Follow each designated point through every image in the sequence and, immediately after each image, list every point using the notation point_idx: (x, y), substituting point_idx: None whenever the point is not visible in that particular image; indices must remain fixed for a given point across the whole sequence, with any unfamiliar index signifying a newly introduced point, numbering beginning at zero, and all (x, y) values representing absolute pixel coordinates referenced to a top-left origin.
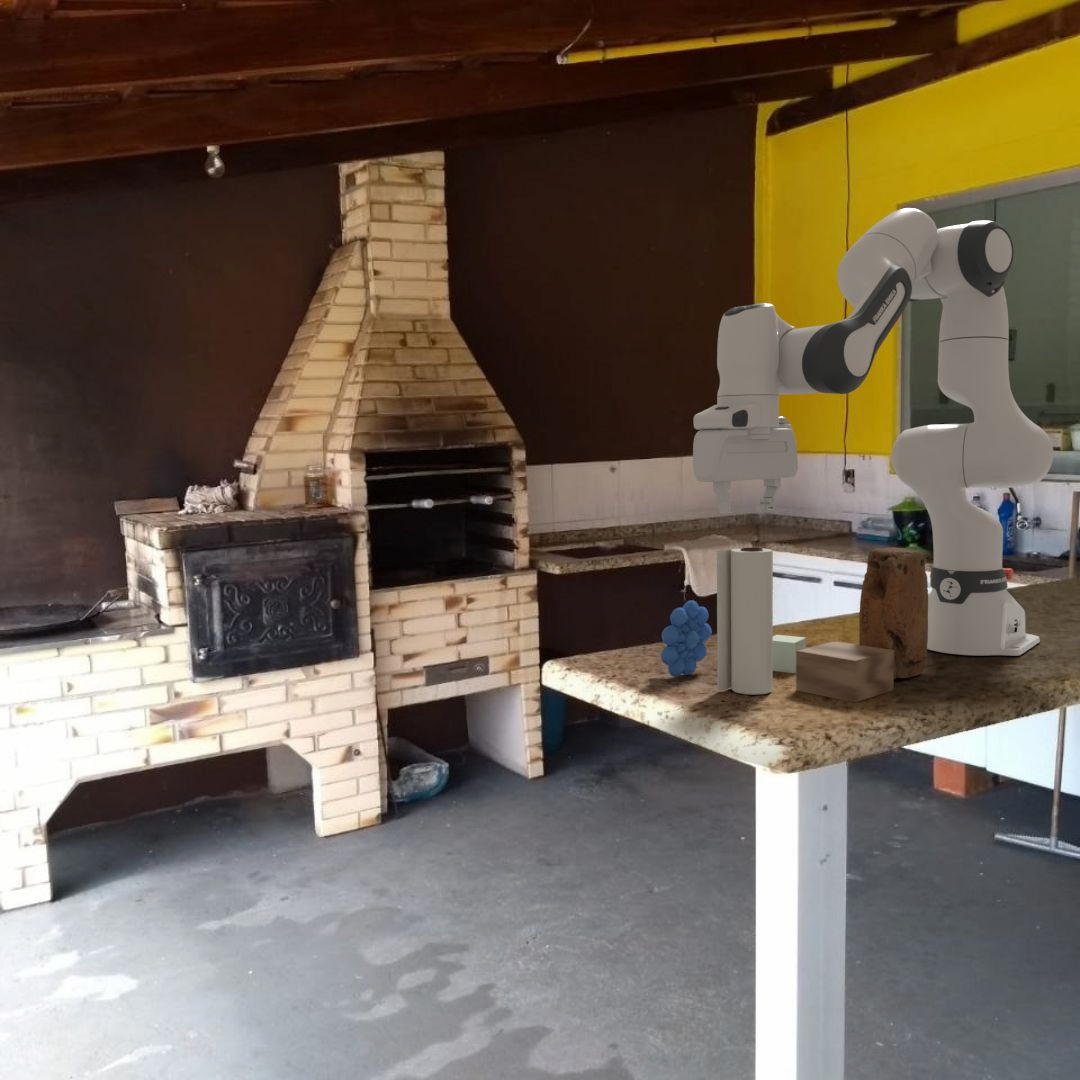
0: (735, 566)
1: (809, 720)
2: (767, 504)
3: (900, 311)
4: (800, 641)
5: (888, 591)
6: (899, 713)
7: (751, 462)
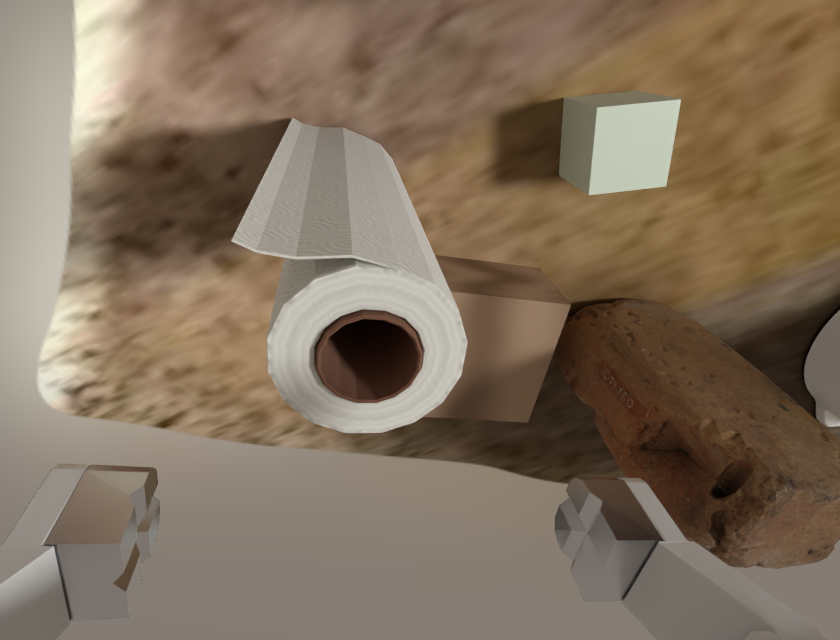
0: (278, 295)
1: (231, 364)
2: (573, 545)
3: None
4: (625, 189)
5: (637, 476)
6: (367, 435)
7: None
